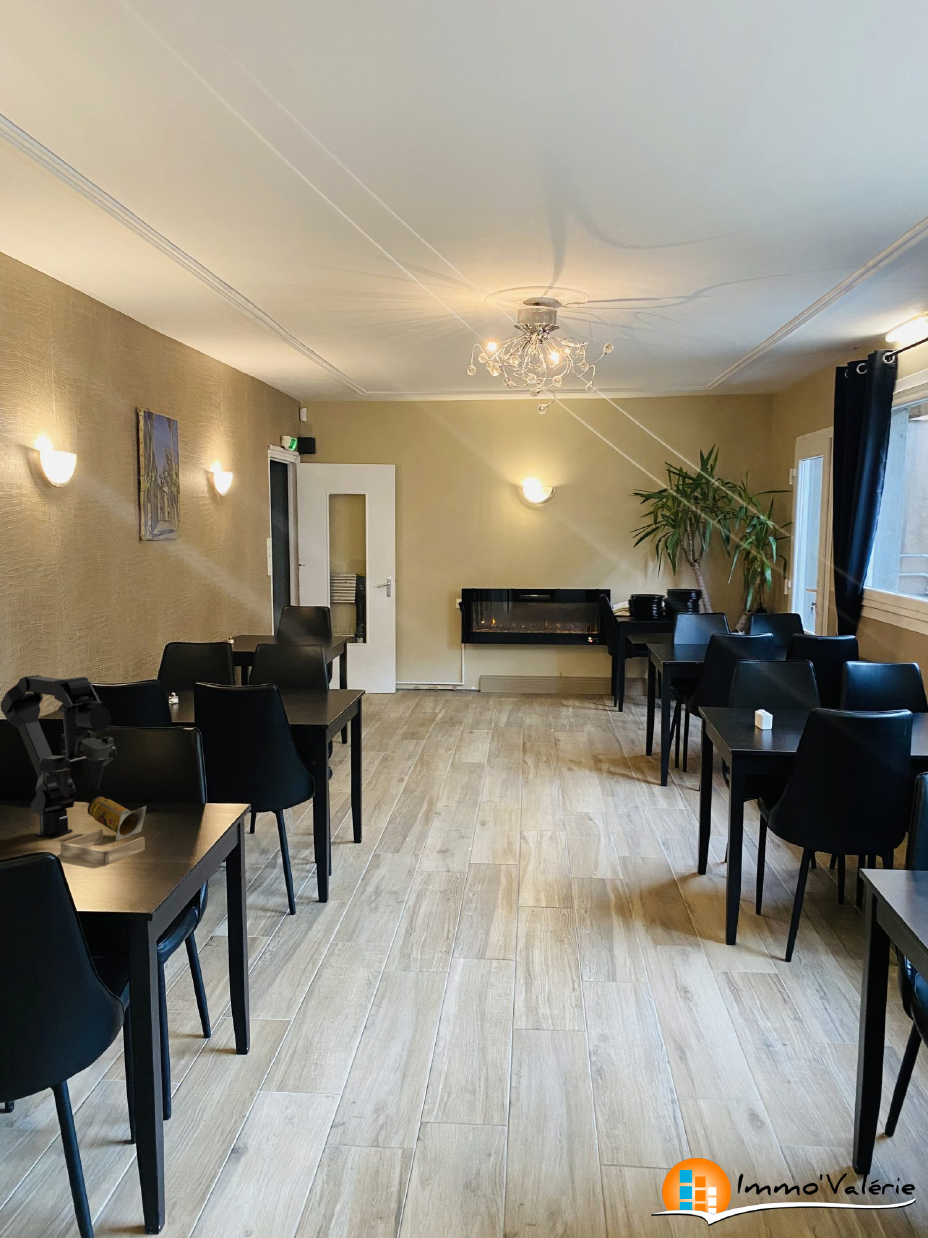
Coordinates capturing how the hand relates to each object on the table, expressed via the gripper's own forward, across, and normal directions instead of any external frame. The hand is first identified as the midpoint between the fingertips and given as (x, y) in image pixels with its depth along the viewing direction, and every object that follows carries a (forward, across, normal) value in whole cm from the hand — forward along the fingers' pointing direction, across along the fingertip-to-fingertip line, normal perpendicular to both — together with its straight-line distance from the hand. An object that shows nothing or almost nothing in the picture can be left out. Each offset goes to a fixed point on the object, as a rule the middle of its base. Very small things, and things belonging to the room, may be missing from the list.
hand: (82, 792), depth 219 cm
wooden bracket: (+14, -3, -9) cm, 16 cm away
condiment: (+10, +9, -7) cm, 15 cm away
